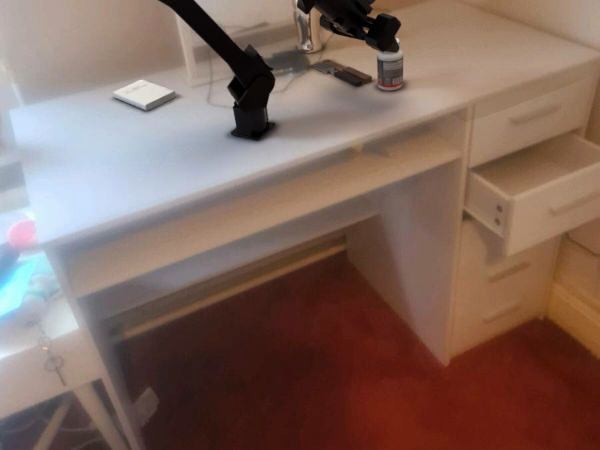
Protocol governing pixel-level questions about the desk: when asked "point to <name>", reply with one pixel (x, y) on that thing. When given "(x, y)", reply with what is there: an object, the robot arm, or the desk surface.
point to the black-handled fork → (337, 74)
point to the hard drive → (144, 94)
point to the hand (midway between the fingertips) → (382, 44)
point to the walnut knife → (349, 71)
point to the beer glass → (307, 29)
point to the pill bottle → (390, 69)
